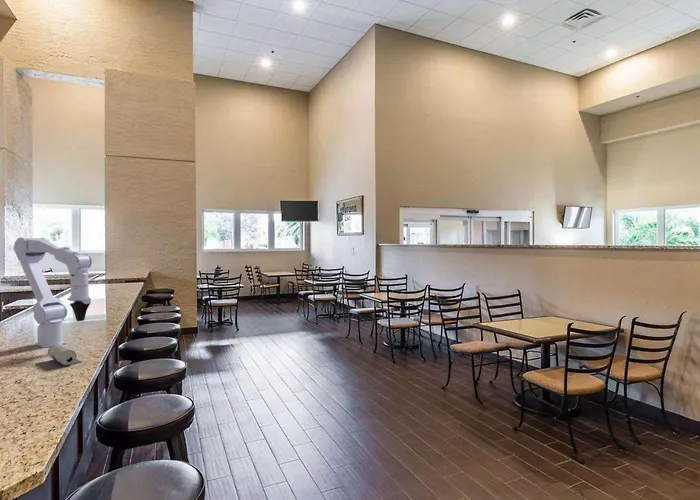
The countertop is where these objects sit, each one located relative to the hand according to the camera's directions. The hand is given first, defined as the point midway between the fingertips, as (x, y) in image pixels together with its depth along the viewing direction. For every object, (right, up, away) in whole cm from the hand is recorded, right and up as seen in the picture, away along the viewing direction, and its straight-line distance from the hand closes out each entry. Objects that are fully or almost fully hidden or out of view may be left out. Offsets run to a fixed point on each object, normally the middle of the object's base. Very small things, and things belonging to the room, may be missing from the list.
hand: (80, 320), depth 155 cm
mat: (+6, -11, -19) cm, 23 cm away
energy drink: (+2, -8, -15) cm, 17 cm away
